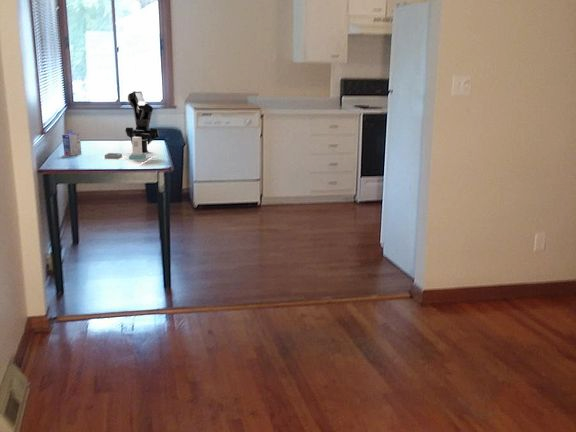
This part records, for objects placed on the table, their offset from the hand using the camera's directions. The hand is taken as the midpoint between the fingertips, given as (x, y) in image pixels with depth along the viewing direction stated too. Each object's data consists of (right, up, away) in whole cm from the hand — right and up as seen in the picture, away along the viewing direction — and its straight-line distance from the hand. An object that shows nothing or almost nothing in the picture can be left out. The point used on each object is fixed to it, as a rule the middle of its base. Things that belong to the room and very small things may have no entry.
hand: (139, 143), depth 354 cm
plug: (0, -9, -4) cm, 10 cm away
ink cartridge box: (-42, -5, +11) cm, 44 cm away
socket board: (-7, -9, -4) cm, 13 cm away
